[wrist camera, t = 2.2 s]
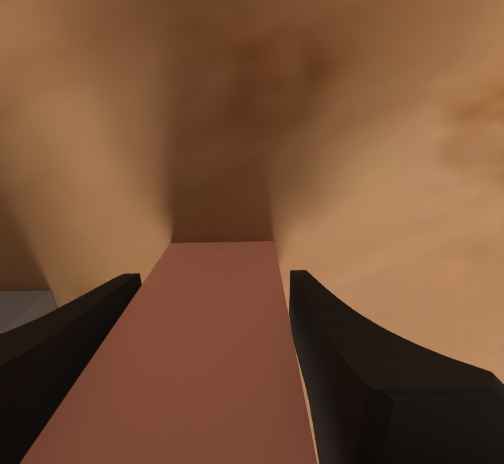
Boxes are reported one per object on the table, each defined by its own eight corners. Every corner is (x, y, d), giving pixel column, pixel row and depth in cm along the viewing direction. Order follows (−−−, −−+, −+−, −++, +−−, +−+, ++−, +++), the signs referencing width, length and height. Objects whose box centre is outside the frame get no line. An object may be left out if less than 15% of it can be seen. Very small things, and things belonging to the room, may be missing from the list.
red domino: (273, 277, 14) (315, 567, 5) (175, 279, 14) (32, 570, 5) (274, 240, 14) (323, 498, 4) (170, 242, 14) (-8, 503, 4)
